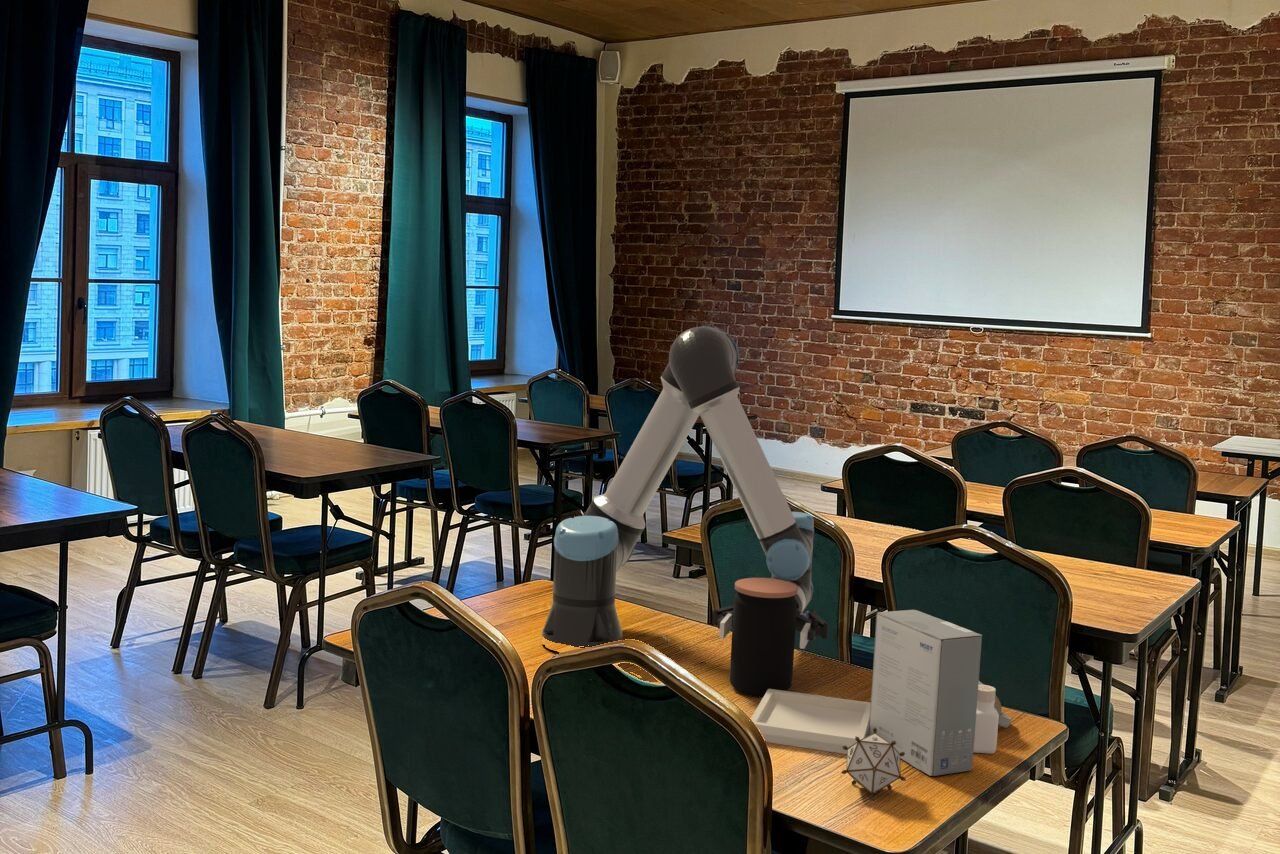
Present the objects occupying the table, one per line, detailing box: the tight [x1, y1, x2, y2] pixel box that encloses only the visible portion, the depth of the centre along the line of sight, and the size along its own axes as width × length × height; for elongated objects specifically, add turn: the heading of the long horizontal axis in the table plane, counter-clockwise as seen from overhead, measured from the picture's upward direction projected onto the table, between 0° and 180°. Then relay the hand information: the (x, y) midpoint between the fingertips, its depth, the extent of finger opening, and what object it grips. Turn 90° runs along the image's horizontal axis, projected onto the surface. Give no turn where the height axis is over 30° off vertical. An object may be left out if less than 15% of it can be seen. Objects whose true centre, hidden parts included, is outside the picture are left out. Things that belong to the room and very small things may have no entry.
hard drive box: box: [868, 609, 983, 777], centre depth 170 cm, size 16×8×20 cm, turn 25°
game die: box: [840, 727, 907, 801], centre depth 157 cm, size 9×8×10 cm
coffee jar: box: [729, 577, 798, 699], centre depth 197 cm, size 11×11×18 cm
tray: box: [750, 689, 871, 755], centre depth 180 cm, size 17×17×2 cm
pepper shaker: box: [973, 684, 999, 755], centre depth 174 cm, size 4×4×10 cm
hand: (761, 635), depth 194 cm, fingers open, 13 cm apart
